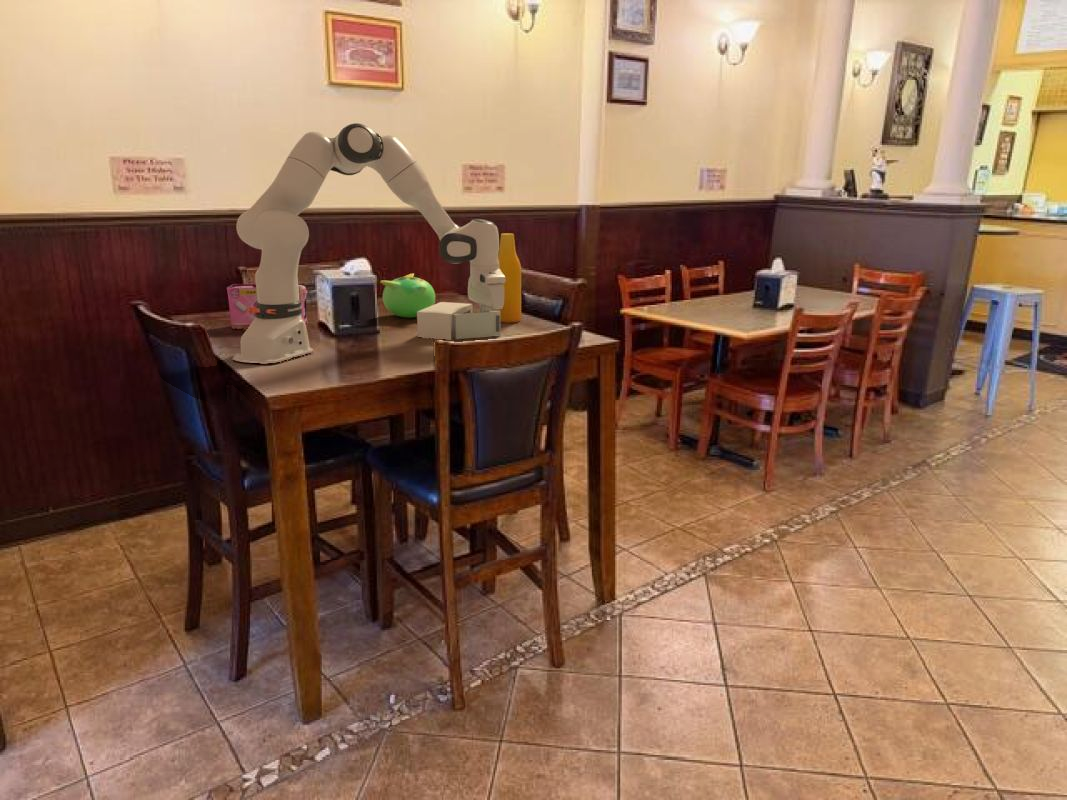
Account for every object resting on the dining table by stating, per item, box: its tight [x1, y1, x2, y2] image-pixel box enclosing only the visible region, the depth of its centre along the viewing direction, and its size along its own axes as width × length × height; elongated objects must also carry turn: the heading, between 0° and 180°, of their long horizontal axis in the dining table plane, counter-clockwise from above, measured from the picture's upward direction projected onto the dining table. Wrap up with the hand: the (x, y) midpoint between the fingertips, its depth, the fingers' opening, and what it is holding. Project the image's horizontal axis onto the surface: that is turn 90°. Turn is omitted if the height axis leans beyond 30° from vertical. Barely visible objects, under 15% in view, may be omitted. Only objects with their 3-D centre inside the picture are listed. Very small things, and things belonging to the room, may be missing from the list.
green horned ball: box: [379, 273, 436, 319], centre depth 258 cm, size 18×17×15 cm
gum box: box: [226, 282, 308, 325], centre depth 242 cm, size 24×8×14 cm, turn 97°
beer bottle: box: [493, 232, 522, 324], centre depth 252 cm, size 9×9×29 cm
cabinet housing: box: [416, 301, 474, 341], centre depth 237 cm, size 20×11×8 cm, turn 163°
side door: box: [452, 310, 501, 341], centre depth 229 cm, size 16×2×8 cm, turn 116°
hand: (485, 318), depth 233 cm, fingers closed
